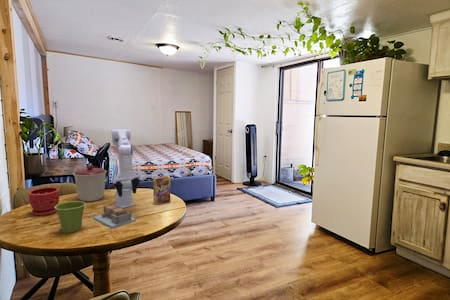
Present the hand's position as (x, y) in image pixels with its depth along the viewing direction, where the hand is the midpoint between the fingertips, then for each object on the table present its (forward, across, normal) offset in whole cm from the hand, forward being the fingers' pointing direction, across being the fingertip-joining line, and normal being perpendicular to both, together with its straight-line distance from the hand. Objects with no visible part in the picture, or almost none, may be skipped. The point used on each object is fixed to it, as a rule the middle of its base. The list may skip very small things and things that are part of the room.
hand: (127, 194), depth 140 cm
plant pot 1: (+10, -27, +33) cm, 44 cm away
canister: (+10, -1, +39) cm, 40 cm away
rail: (+9, -9, -4) cm, 13 cm away
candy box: (+10, +22, +1) cm, 24 cm away
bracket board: (+10, -9, -3) cm, 14 cm away
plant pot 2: (+10, -27, 0) cm, 29 cm away
